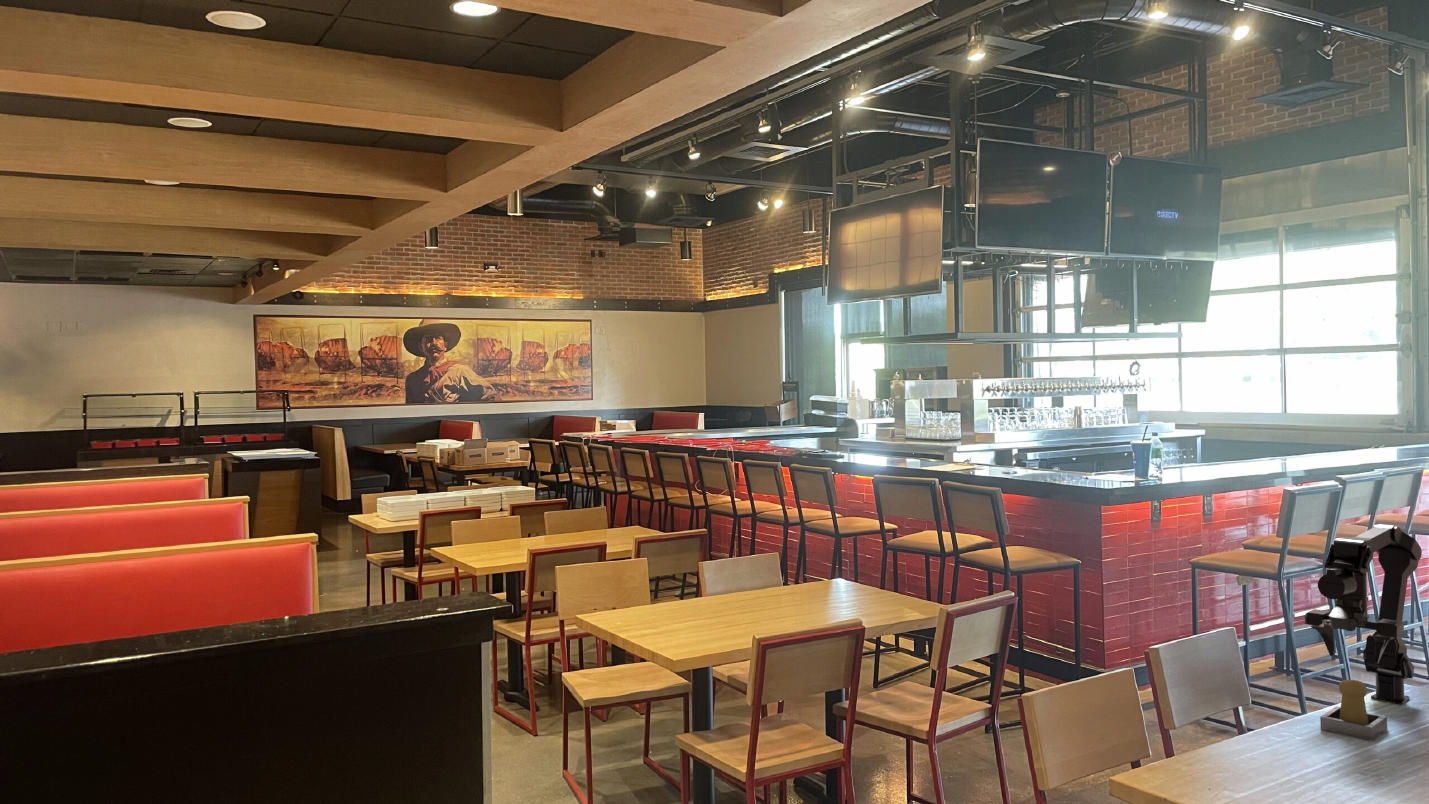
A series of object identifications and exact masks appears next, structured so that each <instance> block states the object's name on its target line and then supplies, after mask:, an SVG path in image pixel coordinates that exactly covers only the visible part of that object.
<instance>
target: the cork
mask: <svg viewBox="0 0 1429 804" xmlns="http://www.w3.org/2000/svg"><path fill="white" fill-rule="evenodd" d="M1338 689H1339V693H1340V694H1341V702H1340V703H1341V704H1340V707H1341V708H1340V716H1339V719H1340V720H1345V721H1350V722H1354V723H1359V724H1364V725H1369V723H1368V717H1367V713H1368V712H1367V707H1366V702H1365V697H1366V695H1367V692H1368V689H1367V686H1366V684H1365V683H1364V682H1363V681H1360V680H1356V679H1344V680H1342V681H1340V683H1339V685H1338Z"/></svg>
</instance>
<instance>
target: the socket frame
mask: <svg viewBox="0 0 1429 804" xmlns="http://www.w3.org/2000/svg"><path fill="white" fill-rule="evenodd" d="M1340 708H1341V706H1336V705H1335V706H1334V707H1333V708H1331V709H1330V710H1328V711H1327V712H1325V713H1324V714H1322V715H1321V716H1320V717H1319V719H1320V720H1319V721H1320V722H1319V723H1320V730H1321V731H1323V732H1329V733H1332V734H1336V735H1342V736H1346V737H1350V738H1356V739H1359V740H1363V741H1369V742H1373V741H1375V740H1376V739H1378V738H1379V737H1380V736H1381V735H1382V734H1384V733H1386V731H1388V717H1387V716H1386V715H1380V714H1375V713H1371V712H1367V717H1368V723H1369V725H1364V724H1359V723H1354V722H1350V721H1345V720H1340V719H1339V716H1340Z"/></svg>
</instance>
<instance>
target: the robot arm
mask: <svg viewBox="0 0 1429 804" xmlns="http://www.w3.org/2000/svg"><path fill="white" fill-rule="evenodd" d="M1421 547H1422V546H1420V544H1419V543H1418V541H1417V540H1416V539H1415V538H1414V537H1413V536H1411V535H1410V534H1407V533H1405V532H1404V531H1402V529H1401V528H1400V526H1397V525H1393V524H1392V525H1391V524H1381V523H1378V524H1374V525H1373V527H1371V528H1370V529H1368V530H1366V531H1364V532H1362V533H1360V534H1358V535H1355V536H1353V537H1351V536H1349V537H1348V536H1347V537H1345V536H1344V537H1343V536H1342V537H1337V538H1336V539H1334V541H1333V542H1332V543H1331V544H1330V547H1329V550H1328V555H1327V557H1326V561H1325V563H1324V568H1325V569H1326V574H1322V576H1320V577H1319V579H1318V581H1317V589H1318V591H1319V593H1320V594H1321V596H1323V597H1325V598H1327V599H1329V600H1335V605H1334V607H1333V608H1332V610H1331V611H1330V610H1324V609H1323V610H1321V609H1316V608H1314V609H1312V610H1309V611H1307V612H1306V613H1305V615H1304V625H1308V626H1309V625H1310V627H1311V629H1313V630H1316V631H1317V632H1318V633H1319V634H1320V636H1321V639H1322V641H1323V642H1324V645H1325V647H1326V649H1327V651H1328V654H1329V657H1333V656H1334V653H1335V642H1334V630H1343V631H1347V632H1354V631H1355V630H1356V629H1357V628H1359V629H1360V628H1361V629H1365V630H1367V629H1368V630H1373V631H1375V632H1374V633H1373V634H1372V635H1370V634H1369V635H1367V637H1366V642H1365V647H1364V649H1363V651H1362V653H1363V654H1362V656H1363V658H1362V659H1363V661H1364V666H1365V671H1366V672H1367V673H1374V674H1375V693H1376V694H1375V693H1373V694H1374V695H1373V694H1372V695H1370V699H1373V700H1377V701H1383V702H1388V703H1393V704H1399V705H1403V704H1405V703H1406V702H1407V701H1409V700H1410V696H1409V695H1405V680H1406V679H1414V678H1413V677H1414V674H1415V666H1414V665H1413V663H1412V661H1411V659H1410V658H1409V655H1408V648H1407V645H1406V643H1405V642H1404V640H1403V638H1402V636H1401V635H1403V634H1405V626H1404V624H1403V618H1404V611H1405V603H1406V593H1407V588H1408V587H1407V586H1408V578H1409V577H1410V576H1411V575H1412V574H1413V573H1414V572H1415V571H1416V570H1417V569H1418V566H1419V562H1420V560H1421V558H1422V553H1423V551H1422V548H1421ZM1374 553H1377V555H1378V562H1379V564H1380V566H1381V568H1382V570H1383V572H1384V573H1383V574H1384V575H1383V581H1382V589H1381V596H1380V603H1379V604H1380V605H1379V612H1378V618H1377V619H1378V621H1374V620H1373V621H1372V620H1369V619H1370V614H1369V613H1368V602H1369V600H1370V599H1369V596H1368V586H1367V585H1368V584H1367V583H1368V581H1367V580H1368V579H1367V573H1369V571H1370V569H1369V567H1370V564H1371V562H1372V561H1373V560H1374Z"/></svg>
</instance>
